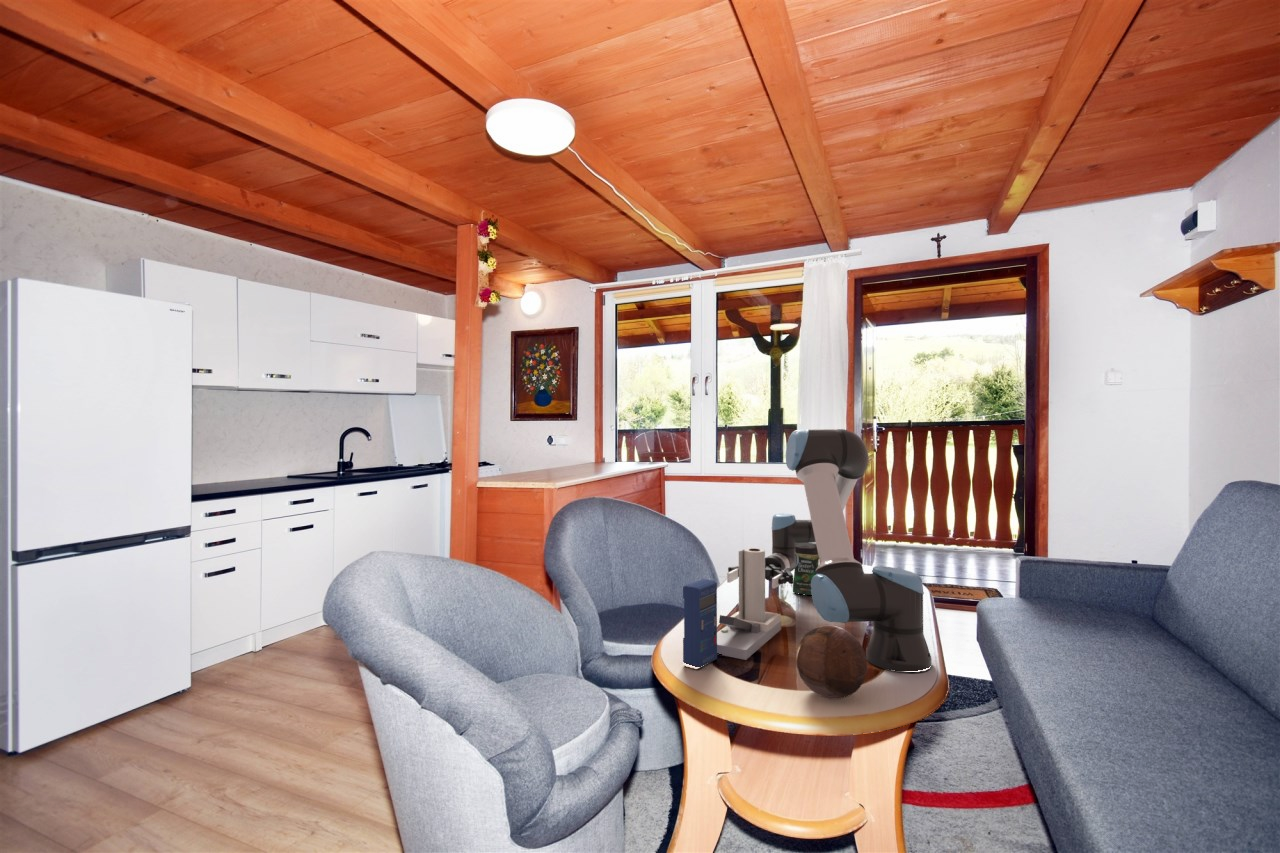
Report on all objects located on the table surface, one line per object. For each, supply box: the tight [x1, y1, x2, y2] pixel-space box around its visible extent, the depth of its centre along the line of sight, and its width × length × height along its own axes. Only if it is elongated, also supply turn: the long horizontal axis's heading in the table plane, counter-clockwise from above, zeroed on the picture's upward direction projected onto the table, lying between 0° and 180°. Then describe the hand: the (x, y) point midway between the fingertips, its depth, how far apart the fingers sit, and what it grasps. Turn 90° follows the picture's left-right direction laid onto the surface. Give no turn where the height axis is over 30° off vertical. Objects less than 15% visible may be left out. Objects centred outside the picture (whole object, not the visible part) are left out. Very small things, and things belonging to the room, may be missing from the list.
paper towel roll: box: [738, 547, 766, 623], centre depth 175 cm, size 7×6×21 cm
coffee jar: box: [792, 543, 820, 596], centre depth 217 cm, size 10×8×19 cm
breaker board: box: [717, 610, 782, 661], centre depth 167 cm, size 28×12×4 cm, turn 149°
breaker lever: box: [718, 614, 752, 631], centre depth 163 cm, size 2×5×15 cm
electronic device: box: [682, 578, 718, 667], centre depth 150 cm, size 10×5×20 cm, turn 143°
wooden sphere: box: [795, 624, 868, 700], centre depth 131 cm, size 15×15×15 cm
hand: (750, 580), depth 172 cm, fingers open, 13 cm apart
